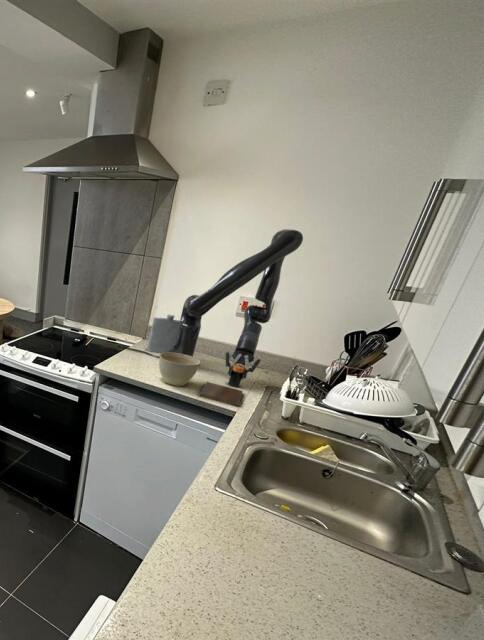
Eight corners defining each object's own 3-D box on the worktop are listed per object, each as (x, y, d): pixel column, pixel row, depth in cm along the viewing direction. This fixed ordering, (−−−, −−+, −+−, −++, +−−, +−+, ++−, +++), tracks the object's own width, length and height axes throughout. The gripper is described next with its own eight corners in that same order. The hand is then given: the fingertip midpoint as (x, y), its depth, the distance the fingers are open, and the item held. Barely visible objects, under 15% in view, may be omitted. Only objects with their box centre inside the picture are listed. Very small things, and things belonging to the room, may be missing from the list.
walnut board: (199, 395, 157) (200, 393, 157) (206, 384, 170) (206, 381, 169) (237, 406, 151) (238, 403, 150) (241, 393, 163) (242, 390, 163)
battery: (227, 385, 171) (233, 365, 167) (228, 382, 174) (234, 362, 171) (238, 388, 169) (245, 368, 165) (239, 385, 172) (245, 365, 168)
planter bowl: (201, 386, 167) (208, 362, 163) (176, 392, 159) (183, 367, 155) (170, 372, 180) (176, 350, 175) (146, 377, 172) (151, 354, 167)
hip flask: (176, 353, 208) (186, 316, 200) (178, 355, 205) (187, 318, 197) (146, 348, 211) (154, 312, 203) (147, 351, 207) (155, 314, 199)
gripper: (230, 335, 173) (219, 368, 168) (267, 343, 166) (256, 377, 162) (228, 344, 179) (217, 376, 175) (263, 352, 172) (253, 385, 168)
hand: (236, 376), depth 168 cm, fingers closed on battery, 4 cm apart
